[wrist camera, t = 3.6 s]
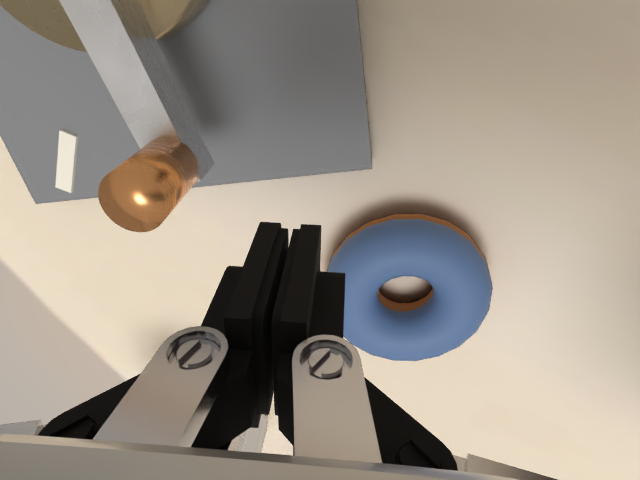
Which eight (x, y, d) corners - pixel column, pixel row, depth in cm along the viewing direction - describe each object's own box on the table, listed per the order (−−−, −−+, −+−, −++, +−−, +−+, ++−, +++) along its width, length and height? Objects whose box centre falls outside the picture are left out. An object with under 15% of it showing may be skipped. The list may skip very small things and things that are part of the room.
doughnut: (311, 212, 26) (307, 260, 23) (483, 189, 25) (509, 236, 21) (336, 326, 32) (336, 380, 28) (477, 312, 31) (497, 366, 27)
